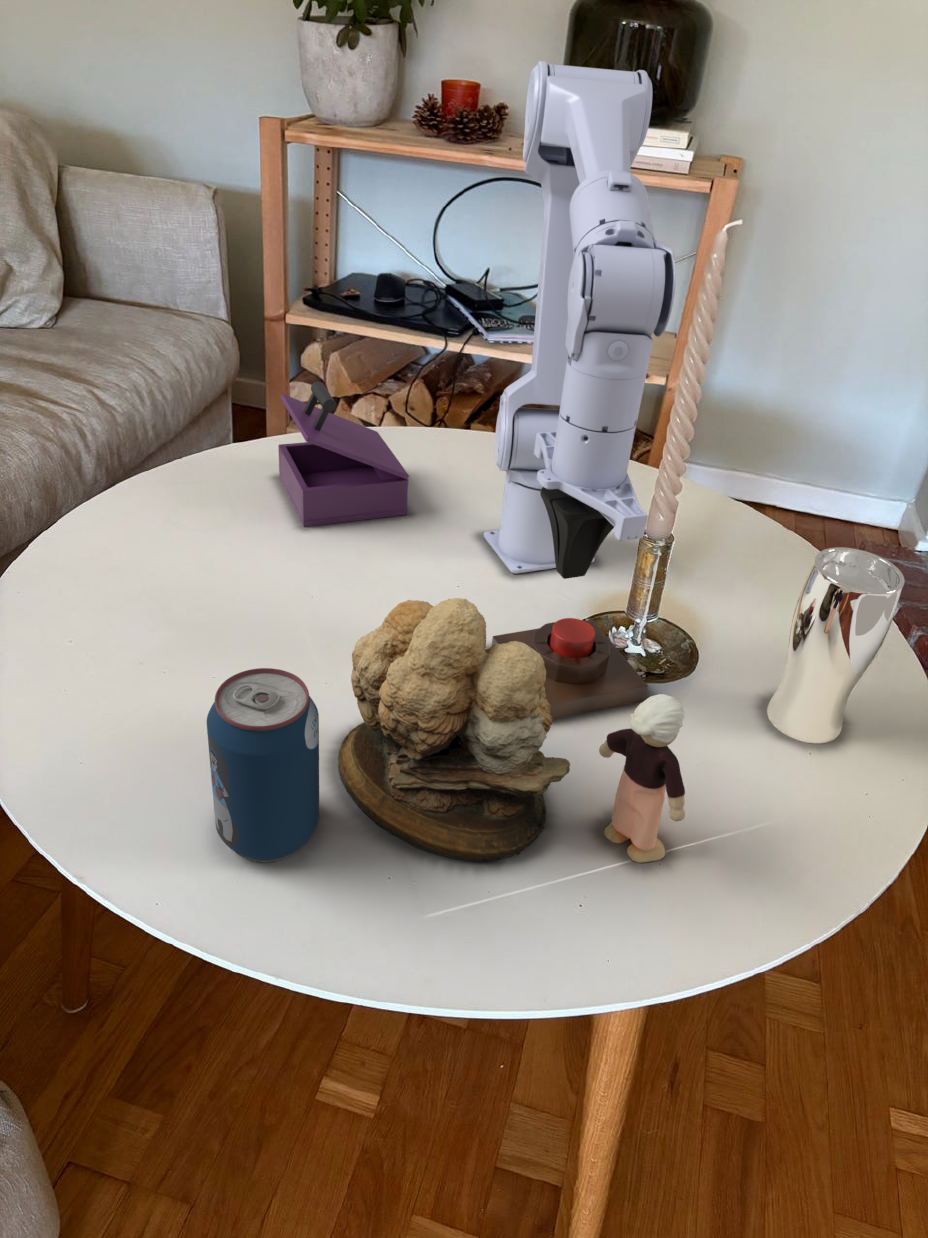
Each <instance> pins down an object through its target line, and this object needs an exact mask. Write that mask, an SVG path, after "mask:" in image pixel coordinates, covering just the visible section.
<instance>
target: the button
mask: <svg viewBox="0 0 928 1238" xmlns="http://www.w3.org/2000/svg"><path fill="white" fill-rule="evenodd" d="M585 621H586V620H582V619H579V618H575V617H566V618H565V617H564V618H560V619H558V620H557V621H555V624H554V625H553V628H552V634H551V640H550V646H551V648H552V650H553V651H554V652H556V653H558V654H559V655H561V656H563V657H569V658H575V659H578V658H583V657H587V656H588V655H589V654H590V653H591V652H592V648H593V643H594V638H595V630H594V628H593V627H592V626H591V625H590V624H588V623H587V622H585Z"/></svg>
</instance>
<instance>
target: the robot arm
mask: <svg viewBox="0 0 928 1238" xmlns="http://www.w3.org/2000/svg"><path fill="white" fill-rule="evenodd" d="M529 75H530V76H529V81H528V88H527V92H526V93H527V94H526V102H525V115H524V116H525V117H524V134H523V136H524V137H523V146H522V147H523V148H522V149H523V150H522V160H523V162H524V168H523V170H524V171H523V172H524V173H525V174H526V175H528V176H530V177H531V178H533V179H534V180H535V181H537V182H538V183H540V187H541V194H542V203H543V222H542V235H541V245H540V246H541V247H540V257H539V258H540V259H539V270H538V271H539V272H538V281H537V282H538V283H537V296H536V308H535V316H534V317H535V319H534V331H533V341H532V342H533V343H532V355H531V365H530V366H531V367H530V370H529V371H528V372H527V373H525V374H524V375H523V376H521V377H520V378H518V379H517V380H515V381H513V382H512V383H510V384H509V385H508V386H507V387H506V388H505V389H504V390H503V392H502V394H501V395H500V398H499V408H498V412H497V417H496V423H495V433H494V462H495V465H496V467H498V469H499V471H501V472H505V480H504V491H503V498H502V506H501V514H500V523H499V529H498V530H497V529H495V530H487V531H485V532H483V538H484V539H485V540H486V542H487V544H488V545H489V546H490V547H491V549H492V550H493V551H494V552H495V554H496V555H497V556H498V558H499V559H500V560H501V561H502V563H503V564H504V566H505V567H506V568H507V569H508V570H509V572H510V573H512V574H516V575H517V574H524V573H530V572H537V571H543V570H551V569H555V570H556V572H557V573H558V575H560V577H561V578H562V579H564V580H566V579H573V578H580V577H585V576H586V574H587V572H588V570H589V568H590V567H591V565H592V564H593V563H594V562H595V559H596V557H595V556H596V554H597V553H598V551H599V549H600V547H601V545H602V544H603V542H604V541H605V539H606V538H607V537H608V535H609V534H610V533H611V532H612V531H613V536H614V537H615V539H617V540H618V541H619V542H625V541H634V540H638V539H643V538H644V536H645V531H646V527H647V523H648V519H649V515H648V514H647V512H645V510H644V509H643V508H642V506H641V504H640V502H639V500H638V497H637V495H636V492H635V489H634V487H633V483H632V482H631V481H632V480H631V479H630V476H629V473H628V470H629V469H628V467H629V463H630V458H631V453H632V449H633V444H634V439H635V434H636V428H637V424H638V418H639V414H640V408H641V404H642V399H643V394H644V390H645V389H644V388H645V383H646V379H647V373H648V368H649V363H650V359H651V354H652V348H653V344H654V339H653V337H652V335H654V336H655V337H657V338H659V337H661V336H662V335H663V334H664V333H665V331H666V329H667V327H668V324H669V321H670V318H671V313H672V312H673V311H672V310H673V306H674V300H675V294H676V293H675V292H676V280H677V278H676V276H677V271H676V269H677V268H676V267H677V266H676V260H675V252H674V250H673V248H672V247H671V246H666V245H665V242H664V241H663V240H657V239H656V237H655V232H654V225H653V220H652V219H653V218H652V214H651V206H650V202H649V195H648V194H649V193H648V191H647V188H646V186H645V184H644V183H643V181H641V179H640V178H638V177H637V176H636V175H635V174H632V173H631V168H632V165H633V164H634V161H635V160H636V158H637V155H638V153H639V151H640V150H641V147H642V146H643V145H644V143H645V141H646V137H647V134H648V131H649V127H650V121H651V116H652V115H651V114H652V108H653V107H652V106H653V83H652V80H651V78H650V77H649V75H648V73H647V71H646V70H644V69H638V70H636V71H630V70H620V69H619V70H618V69H610V68H609V69H608V68H597V67H586V66H575V65H566V64H565V65H563V64H554V63H548V62H547V61H546V60H539V61H538V62H537V64H536V65H535V66H534V67H533V68H532V70H531V71H530V74H529ZM525 405H545V406H546V405H547V406H558V407H559V409H555V408H538V407H535V408H534V407H524V406H525ZM613 529H614V530H613Z"/></svg>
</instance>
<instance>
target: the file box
mask: <svg viewBox="0 0 928 1238" xmlns="http://www.w3.org/2000/svg"><path fill="white" fill-rule="evenodd" d="M277 448H278V473H279V474H278V475H279V480H280V482H281V485H282V486H283V488H284V491H285V492H286V495H287V496H288V498H289V500H290V503H291V504H292V507H293V508H294V510H295V512H296V515H297V516H298V518H299V520H300V523H301V525H302V527H311V526H312V527H313V526H321V525H330V524H331V525H332V524H338V523H339V524H340V523H348V522H355V521H366V520H373V519H382V518H388V517H389V518H390V517H392V518H393V517H398V516H406V515H407V509H408V496H409V495H408V492H409V478H408V479H405V478H402V477H399V476H397V475H394V474H391V473H389V472H386V471H383V470H381V469H378V468H375V467H373V466H370V465H367V464H365V463H362V462H359V461H357V460H354V459H351V458H349V457H346V456H343V455H341V454H338V453H335V452H333V451H330V450H327V449H325V448H322V447H320V446H317V445H314V444H312V443H309V442H306V441H304V442H294V443H282V444H278V447H277Z"/></svg>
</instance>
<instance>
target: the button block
mask: <svg viewBox="0 0 928 1238" xmlns="http://www.w3.org/2000/svg"><path fill="white" fill-rule="evenodd" d="M584 621H585V622H587V623H588V624H590V625H591V626H592V627H593V628H594V630H595V638H594V643H593V648H592V652H591V653H590V654H589V655H588V656H587V657H583V658H578V659H575V658H569V657H563V656H561V655H559V654H558V653H556V652H554V651H553V650H552V648H551V646H550V640H551V634H552V628H553V625H554V624H555V622H556V621H555V622H554V621H553V622H548V623H547V622H546V623H545V624H543V625H542V626H540V627H539V628H532V629H526V630H521V631H515V632H509V633H503V634H502V633H501V634H497V635H492V639H491V646H492V645H493V644H495V643H498V644H503V643H508V642H510V641H512V642H513V641H518V642H521V643H524V644H526V645H528V646H529V647H531V648H532V649H534V650H535V651H536V652H537V653H539V654H540V655H541V657H542V658H543V661H544V666H545V669H546V680H545V683H544V687H545V695H546V697H545V699H547V700H548V703H549V704H550V705H551V707H550V716H551V717H553V719H552V720H555V719H561V718H565V717H566V718H567V717H570V716H576V715H580V714H585V713H590V712H595V711H600V710H605V709H609V708H615V707H619V706H624V705H629V704H634V703H638V702H644V701H645V700H646V695H647V691H648V688H649V685H648V684H647V683H646V681H645V680H644V678H642V677H641V675H639V673H638V671H636V669H635V668H634V667H633V666H632V665H631V664H630V662H629V661H628V660H627V658H626V657H625V656H624V655H623V654H622V653H621V652H620V650H619V649H618V648H617V647H616V645H615V644H614V643H613V642H612V641H611V640H610V639H609V637H608V636H607V635H606V634H605V632H604V631H603V630H602V629H601V628H600V626H599V625H598V623H596V622H595V621H594V619H587V620H584Z"/></svg>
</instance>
